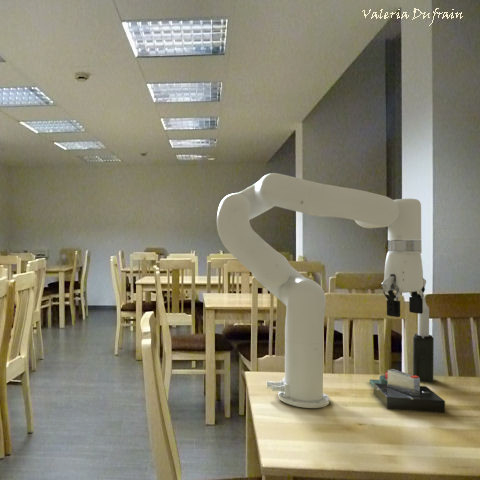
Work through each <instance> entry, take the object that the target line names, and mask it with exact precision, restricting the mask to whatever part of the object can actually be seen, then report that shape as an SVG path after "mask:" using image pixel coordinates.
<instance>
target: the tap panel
mask: <svg viewBox="0 0 480 480" xmlns="http://www.w3.org/2000/svg"><path fill="white" fill-rule="evenodd" d="M373 395H374V396H375V397H376V398H377V399H378V401H379V402H380V403H381V404H382V405H383V407H385V408H386V410H394V411H395V410H396V411H409V412H411V411H412V412H423V413H439V414H445V413H446V407H445V406H446V400H444V399H443V398H442V397H440V395H438V394H437V393H435V392H434V391H433V390H432V389H430V388H429V387H428V386H426V385H420V396H411V395H409V394H406V393H403V392H401V391H398V390H395V389H393V388H390V387H388V386H387V384H380V383H374V387H373Z"/></svg>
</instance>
